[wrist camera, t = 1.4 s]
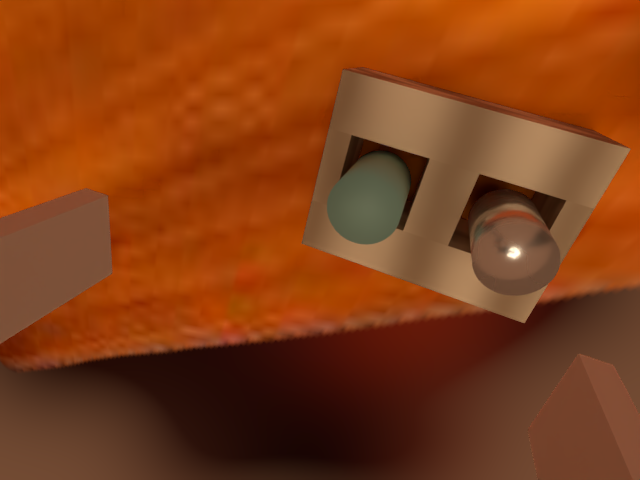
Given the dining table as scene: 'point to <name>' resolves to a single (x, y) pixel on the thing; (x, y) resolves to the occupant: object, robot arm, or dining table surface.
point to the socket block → (456, 178)
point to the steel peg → (511, 244)
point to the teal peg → (370, 198)
